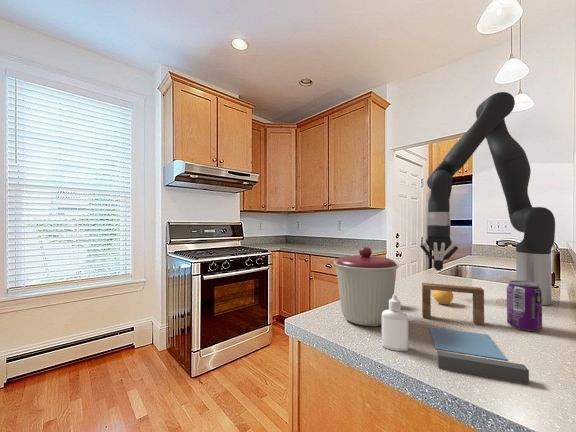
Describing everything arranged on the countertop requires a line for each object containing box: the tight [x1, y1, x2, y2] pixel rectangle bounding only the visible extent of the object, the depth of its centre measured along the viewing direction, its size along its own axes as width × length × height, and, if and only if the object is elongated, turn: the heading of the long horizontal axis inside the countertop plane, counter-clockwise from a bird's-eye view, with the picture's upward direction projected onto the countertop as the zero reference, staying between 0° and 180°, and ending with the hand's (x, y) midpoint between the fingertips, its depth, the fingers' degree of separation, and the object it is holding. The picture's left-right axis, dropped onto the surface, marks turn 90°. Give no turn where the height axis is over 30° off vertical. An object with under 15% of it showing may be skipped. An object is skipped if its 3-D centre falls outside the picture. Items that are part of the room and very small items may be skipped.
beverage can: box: [506, 279, 543, 332], centre depth 72 cm, size 7×7×12 cm
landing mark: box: [429, 326, 508, 361], centre depth 64 cm, size 13×13×1 cm
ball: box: [432, 290, 454, 305], centre depth 93 cm, size 6×6×6 cm
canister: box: [333, 246, 400, 327], centre depth 78 cm, size 18×18×21 cm
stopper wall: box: [436, 350, 530, 385], centre depth 51 cm, size 2×14×2 cm, turn 68°
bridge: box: [421, 282, 485, 327], centre depth 78 cm, size 3×15×10 cm, turn 68°
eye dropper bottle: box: [381, 293, 409, 352], centre depth 61 cm, size 4×6×12 cm
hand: (438, 270), depth 102 cm, fingers closed
